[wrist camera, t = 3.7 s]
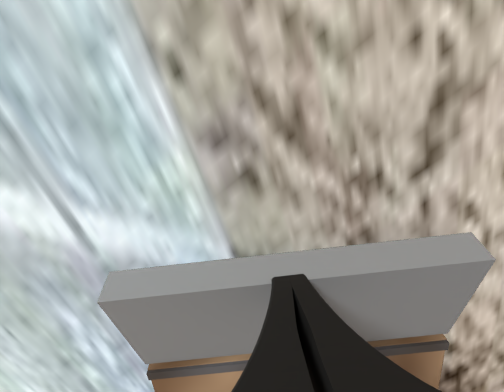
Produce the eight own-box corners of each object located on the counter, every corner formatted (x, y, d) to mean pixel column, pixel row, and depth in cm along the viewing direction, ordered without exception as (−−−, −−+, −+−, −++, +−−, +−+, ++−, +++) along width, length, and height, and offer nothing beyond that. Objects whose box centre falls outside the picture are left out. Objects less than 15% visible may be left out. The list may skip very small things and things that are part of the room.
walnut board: (430, 317, 17) (449, 342, 15) (420, 385, 19) (436, 412, 17) (155, 346, 17) (146, 373, 15) (175, 409, 19) (169, 438, 18)
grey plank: (471, 232, 13) (495, 259, 11) (432, 306, 16) (447, 333, 15) (109, 271, 13) (97, 302, 12) (151, 336, 17) (145, 364, 16)
